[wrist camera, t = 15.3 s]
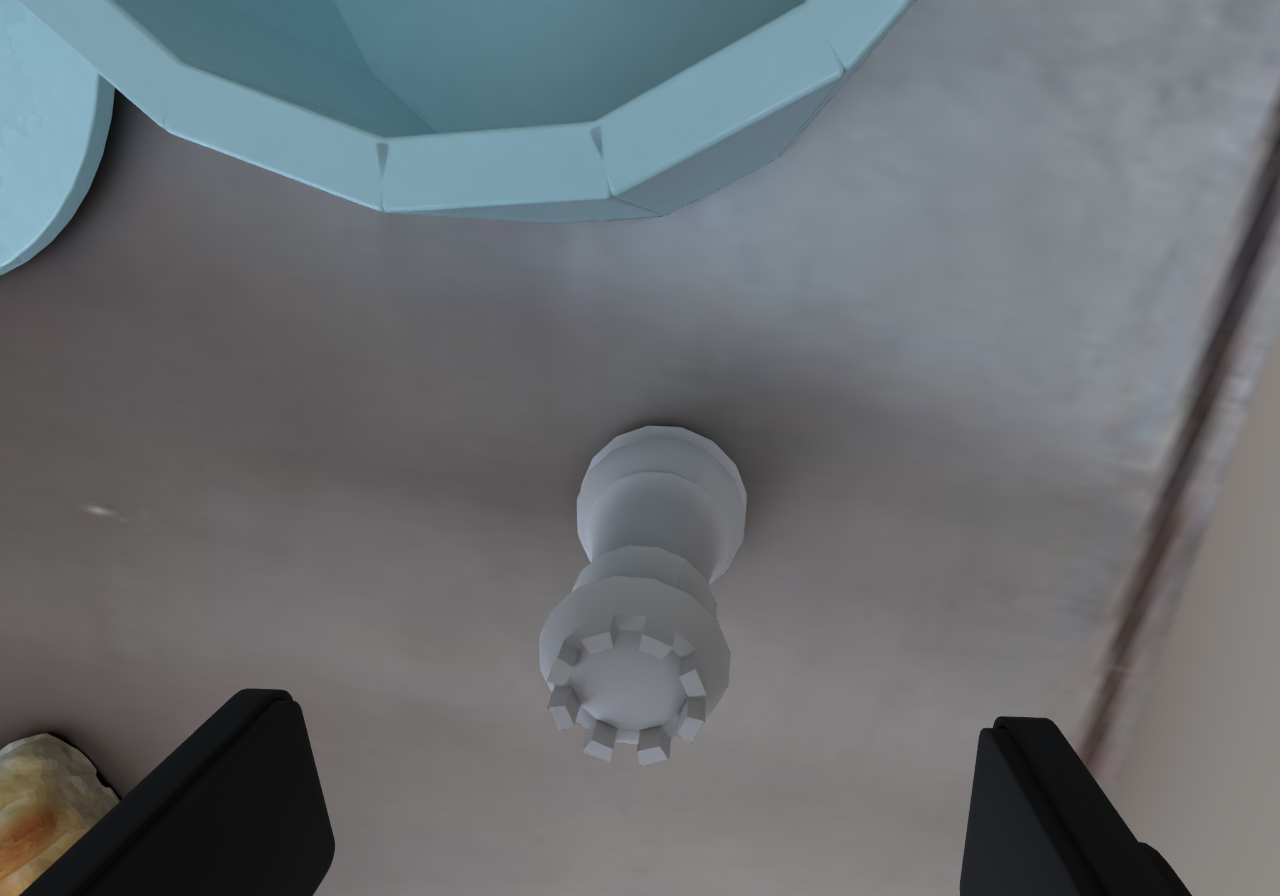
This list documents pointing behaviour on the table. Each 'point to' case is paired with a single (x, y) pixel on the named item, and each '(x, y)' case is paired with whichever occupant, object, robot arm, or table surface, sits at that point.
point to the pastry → (44, 806)
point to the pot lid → (44, 133)
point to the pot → (484, 92)
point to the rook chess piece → (646, 594)
